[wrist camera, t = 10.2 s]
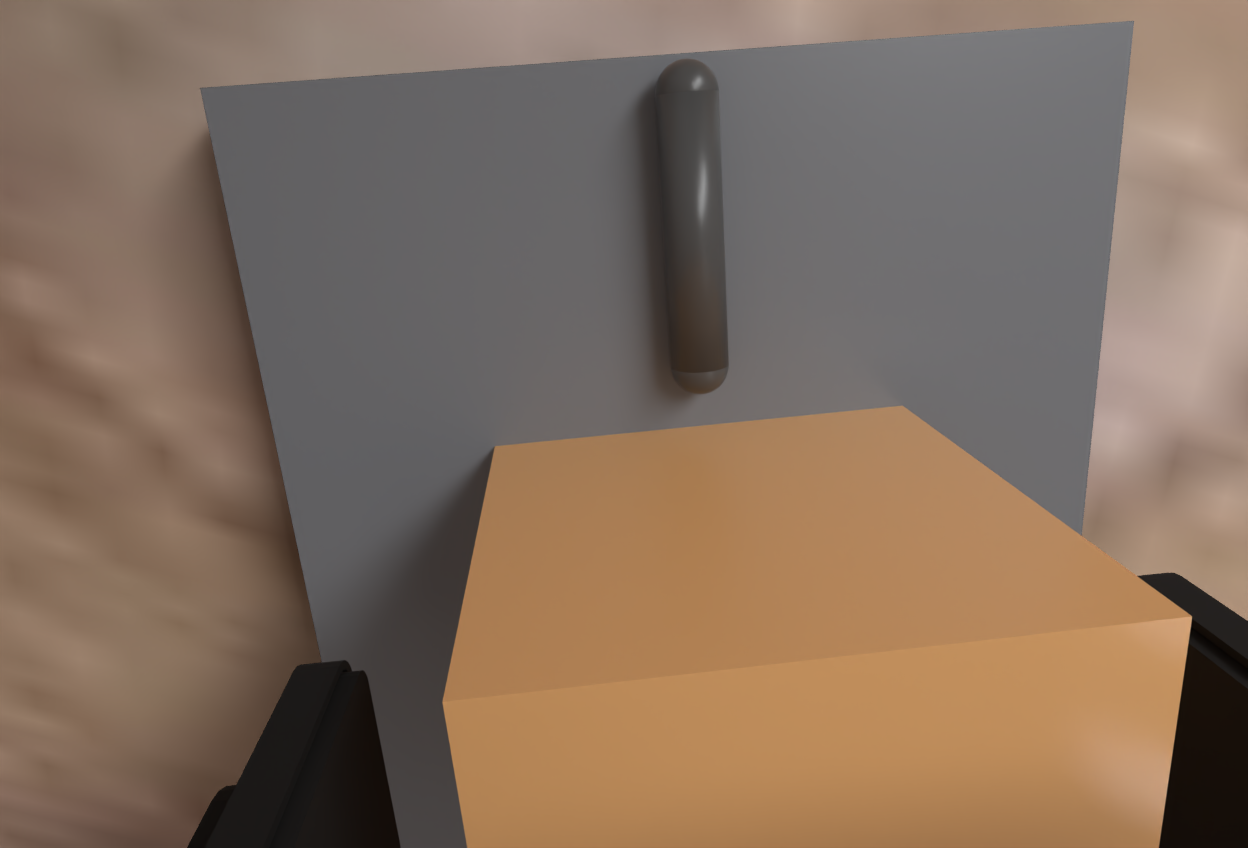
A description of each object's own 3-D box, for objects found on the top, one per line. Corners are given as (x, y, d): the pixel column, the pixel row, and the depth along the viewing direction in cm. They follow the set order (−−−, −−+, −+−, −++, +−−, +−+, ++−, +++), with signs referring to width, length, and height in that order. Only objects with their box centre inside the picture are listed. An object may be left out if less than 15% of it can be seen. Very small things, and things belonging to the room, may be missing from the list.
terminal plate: (241, 96, 12) (-1, 51, 7) (1068, 35, 13) (1433, -48, 7) (413, 955, 17) (349, 1314, 12) (1000, 882, 18) (1188, 1193, 12)
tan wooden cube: (494, 446, 12) (443, 701, 7) (902, 405, 13) (1192, 616, 7) (540, 786, 14) (530, 1217, 8) (894, 744, 14) (1117, 1132, 9)
